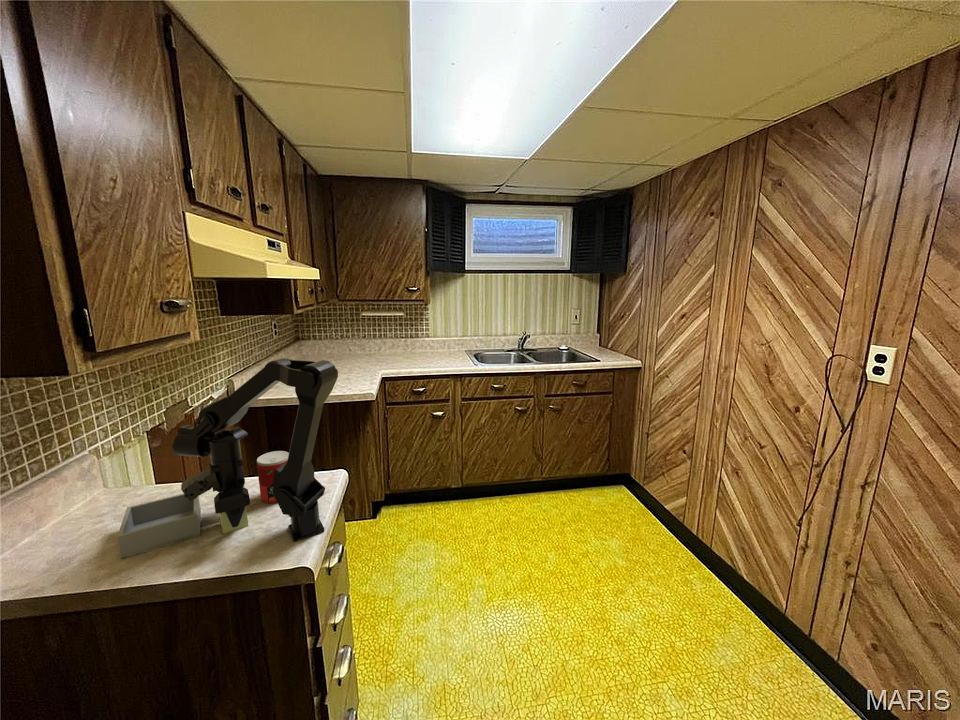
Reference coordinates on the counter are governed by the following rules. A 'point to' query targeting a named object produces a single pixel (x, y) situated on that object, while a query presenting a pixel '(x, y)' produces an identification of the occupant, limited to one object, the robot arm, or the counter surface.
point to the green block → (227, 525)
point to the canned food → (269, 472)
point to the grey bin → (158, 524)
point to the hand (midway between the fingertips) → (234, 520)
